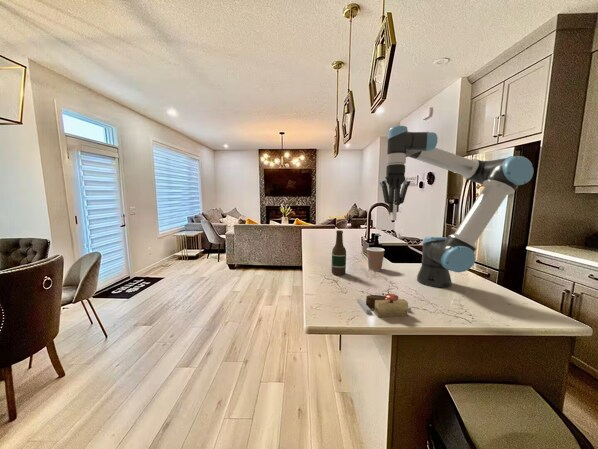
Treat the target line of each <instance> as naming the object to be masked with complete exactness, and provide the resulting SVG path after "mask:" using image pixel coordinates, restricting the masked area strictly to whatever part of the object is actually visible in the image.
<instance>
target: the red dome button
mask: <svg viewBox="0 0 598 449" xmlns="http://www.w3.org/2000/svg"><path fill="white" fill-rule="evenodd" d="M384 296H385V298H386V299H388V300H375V309H374V314H375V316H376V317H377V318H389V317H391V318H394V317H396V316H397V317H408V316H409V315H408V314H409V312H408V306H409V302H408V300H406V299H405V298H399V296H398V295H397V294H394V293H386V294H385V295H384ZM398 298H399V299H398Z"/></svg>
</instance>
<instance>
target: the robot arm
mask: <svg viewBox="0 0 598 449" xmlns="http://www.w3.org/2000/svg"><path fill="white" fill-rule="evenodd" d="M438 138H439V137H438V134H437V133H436V132H434V131H433V132H431V131H409V130H408V127H407V126H406V125H395V126H392V127H390V128H389V129H388V133H387V140H386V141H387V154H386V169H385V170H386V172H385V173H386V175H385V178H384V179H383V180H380V181H379V184H380V186H381V188H382V195H383V199H384V200H383V201H384V204H387V205H388V212H389V213H390V214H389V215H390V216H389V220H391V221H397V216H398V215H397V213H399V212H400V211H399V210H400V209H399V207H400V205H402V204H404V202H405V199H406V194H407V191H408V188H409V186H410V184H411V181H409V180H407V179H406V175H405V174H406V165H405V164H406V161H407V158H408V157H409V158H412V159H415V160H417V161H420V162H423V163H427V164H429V165H432V166H434V167H438V168H441V169H443V170H446V171H450V172H452V173H455V174H458V175H461V176H462V177H463V179H465V180H469V181H471V182H473V183H476V184H480V185H482V186H484V187H483V188H482V191H481V192H480V193H479V195H478V197H477V198H476V200H475V201H474V203H473V204H472V205H471V206H470V209H469V210H468V212H467V214H466V215H465V216H464V218H463V219H462V221H461V223H460V225H458V227H457V228H456V230H455V232H454V233H452V234H449V235H447V237H446V236H444V237H443V236H425V237H424V238H423V241H422V250H421V251H422V252H421V253H422V256H421V267H420V268H419V271H418V274H417V275H416V281H417V282H418V283H420V284H422V285H426V286H429V287H434V288H449V287H451V286H452V279H451V274H450V271H451V272H454V273H463V272H467V271H469V269H471V268H472V267H473V266H474V264H475V263H476V254H475V252H476V250H477V246H476V243H477V241H478V240H479V238H480V236H482V233H483V232H484V231H485V229H486V227H487V226H488V225H489V223H490V221H491V220H492V219H493V217H494V215H495V214H496V213H497V211H498V209H499V208H500V207H501V205H502V204H503V202H504V201H505V199H506V198H507V197H508V196H509V195H512V194H514V193H515V191H517V188H518V187H519V186H522V185H524V184H527V183H529V182H530V181H531V180H532V178H533V175H534V167H533V164H532V162H531V160H529V159H528V158H527V157H525V156H522V155H515V156H514V155H512V156H508V157H505V158H499V159H494V160H480V159H477V158H473V159H469V158H467V157H464V156H461V155H458V154H455V153H452V152H450V151H449V152H448V151H447V150H444V149H440V148H437V146H438V145H437V144H438Z"/></svg>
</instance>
